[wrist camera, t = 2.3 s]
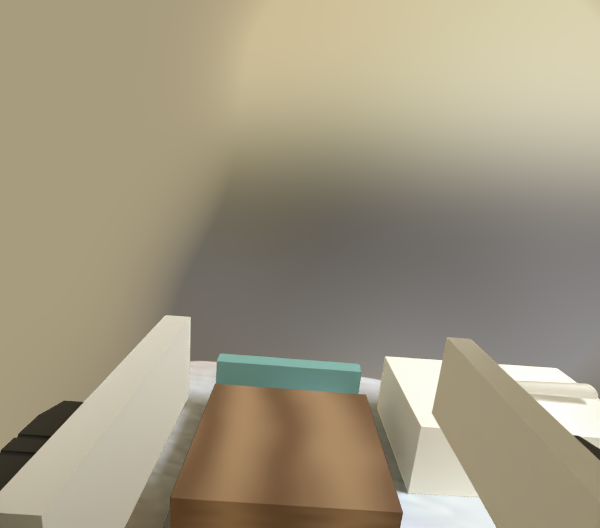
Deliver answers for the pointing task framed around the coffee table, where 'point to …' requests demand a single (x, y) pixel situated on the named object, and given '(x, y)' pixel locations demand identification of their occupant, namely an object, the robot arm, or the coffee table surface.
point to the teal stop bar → (288, 373)
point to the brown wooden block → (285, 463)
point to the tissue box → (429, 437)
